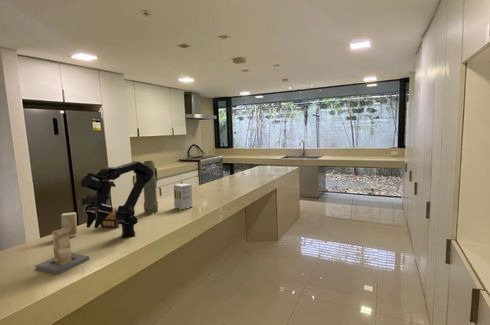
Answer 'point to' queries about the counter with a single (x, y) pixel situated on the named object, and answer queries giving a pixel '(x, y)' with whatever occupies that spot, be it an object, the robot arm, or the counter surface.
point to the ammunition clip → (110, 221)
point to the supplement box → (183, 196)
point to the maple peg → (61, 246)
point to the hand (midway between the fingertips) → (91, 227)
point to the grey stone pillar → (151, 190)
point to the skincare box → (69, 223)
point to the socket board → (55, 269)
